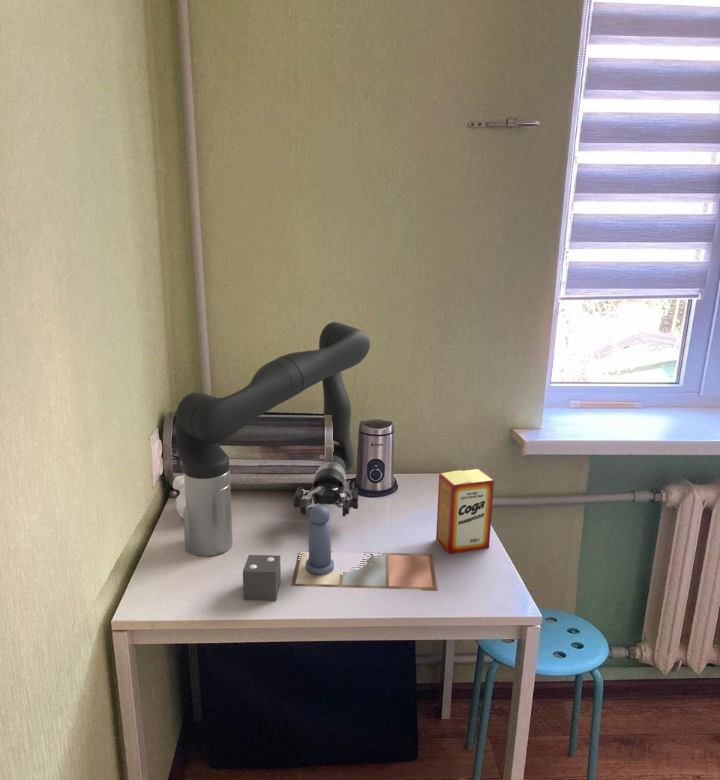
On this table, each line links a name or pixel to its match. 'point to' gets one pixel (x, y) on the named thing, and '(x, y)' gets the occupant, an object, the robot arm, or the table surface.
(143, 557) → the table surface
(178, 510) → the duck figurine
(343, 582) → the game board
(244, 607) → the table surface
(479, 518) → the baking soda box
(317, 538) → the pawn
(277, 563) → the die
